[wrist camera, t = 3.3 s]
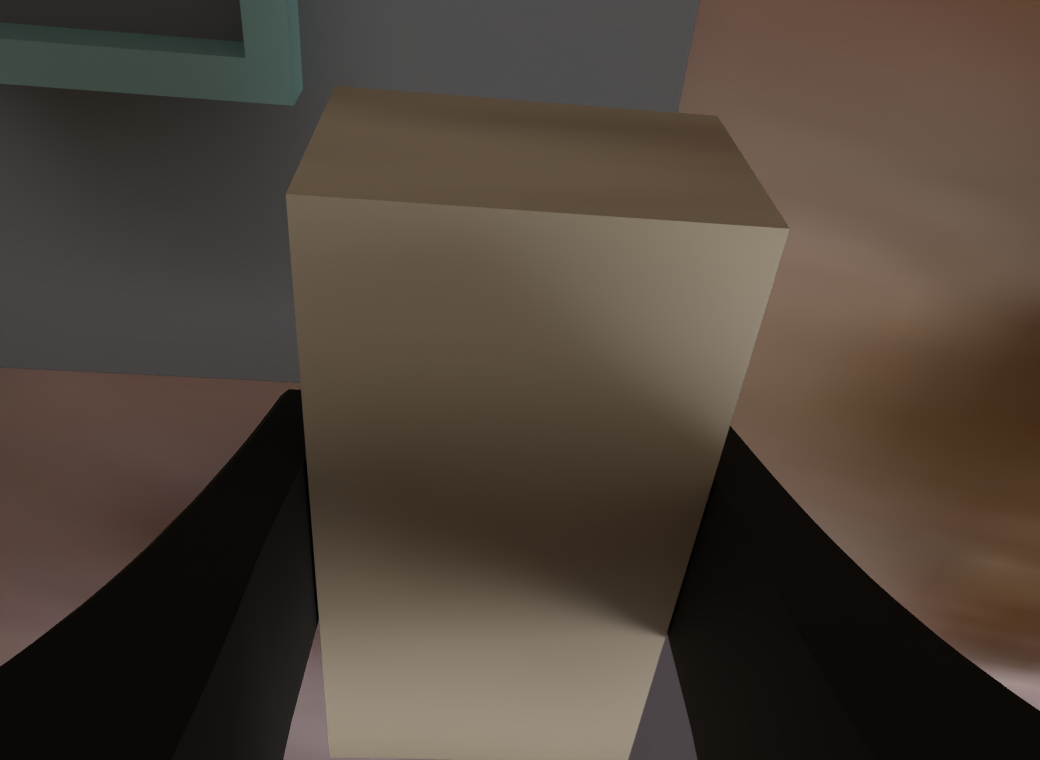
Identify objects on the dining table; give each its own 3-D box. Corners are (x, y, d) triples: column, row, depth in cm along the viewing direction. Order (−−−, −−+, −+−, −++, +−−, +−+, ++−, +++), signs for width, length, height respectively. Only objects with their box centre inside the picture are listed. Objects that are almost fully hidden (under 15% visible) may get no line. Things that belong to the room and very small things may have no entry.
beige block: (604, 604, 15) (627, 762, 13) (354, 596, 15) (330, 757, 13) (716, 116, 10) (789, 229, 8) (335, 85, 10) (285, 193, 7)
